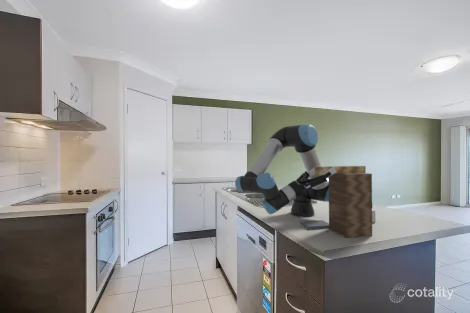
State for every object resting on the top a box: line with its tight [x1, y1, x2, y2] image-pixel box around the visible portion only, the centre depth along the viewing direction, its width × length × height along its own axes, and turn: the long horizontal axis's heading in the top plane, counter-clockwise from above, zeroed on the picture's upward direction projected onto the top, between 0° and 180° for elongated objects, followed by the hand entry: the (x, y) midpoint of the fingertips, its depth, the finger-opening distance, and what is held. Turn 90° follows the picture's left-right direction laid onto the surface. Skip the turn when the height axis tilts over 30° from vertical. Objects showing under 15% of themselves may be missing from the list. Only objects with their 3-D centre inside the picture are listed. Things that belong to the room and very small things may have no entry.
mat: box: [299, 220, 329, 230], centre depth 129 cm, size 14×10×2 cm
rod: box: [315, 165, 367, 174], centre depth 117 cm, size 26×4×4 cm, turn 101°
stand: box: [328, 172, 373, 239], centre depth 118 cm, size 14×14×30 cm
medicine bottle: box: [372, 208, 376, 224], centre depth 138 cm, size 7×7×12 cm
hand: (326, 168), depth 115 cm, fingers open, 13 cm apart
